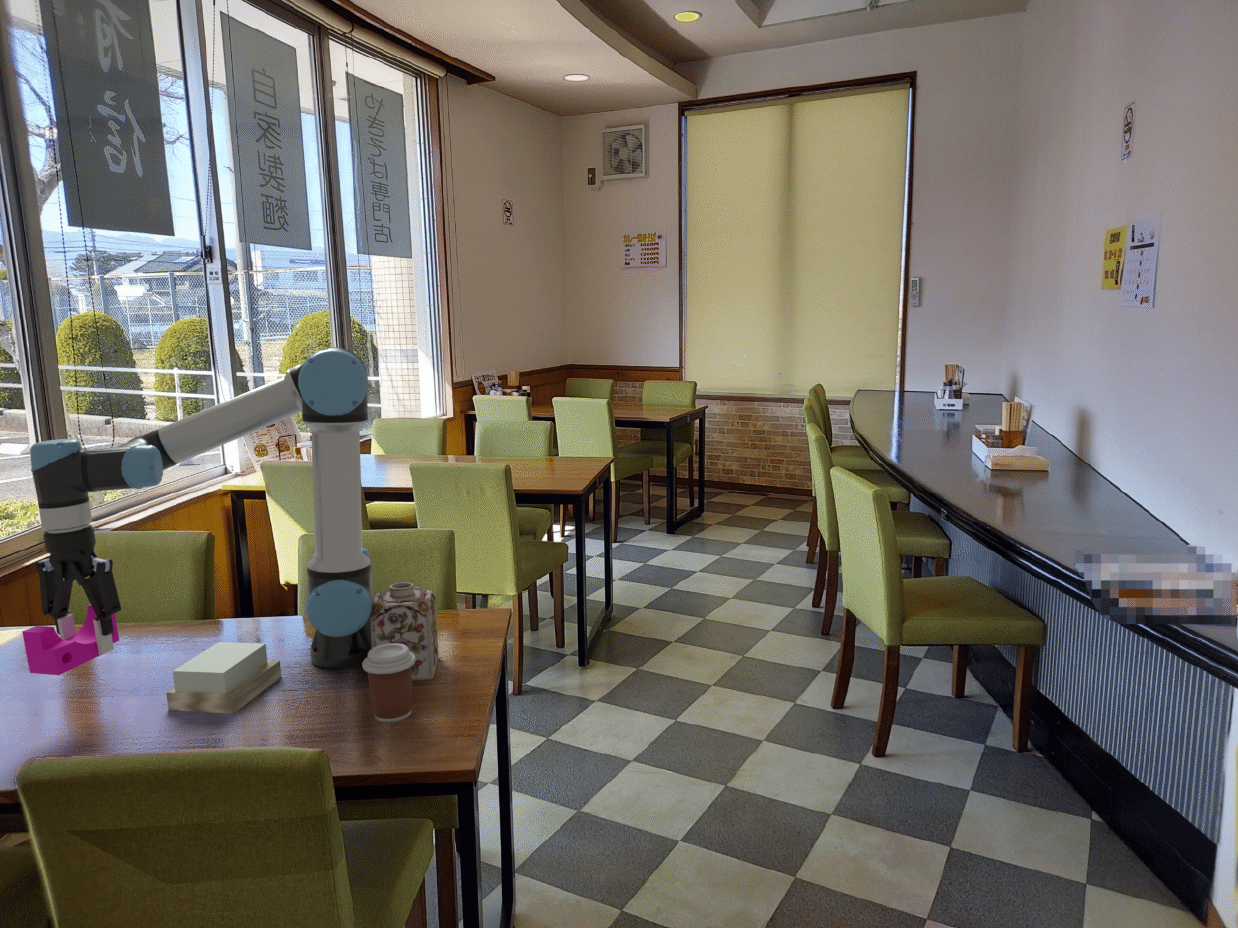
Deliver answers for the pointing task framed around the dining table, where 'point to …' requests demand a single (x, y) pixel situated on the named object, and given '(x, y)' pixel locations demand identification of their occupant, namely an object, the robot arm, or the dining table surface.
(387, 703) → the coffee cup
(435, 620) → the decorative jar
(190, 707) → the tower base slab
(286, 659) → the dining table surface
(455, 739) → the dining table surface
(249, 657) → the tower top slab
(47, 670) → the toy block
